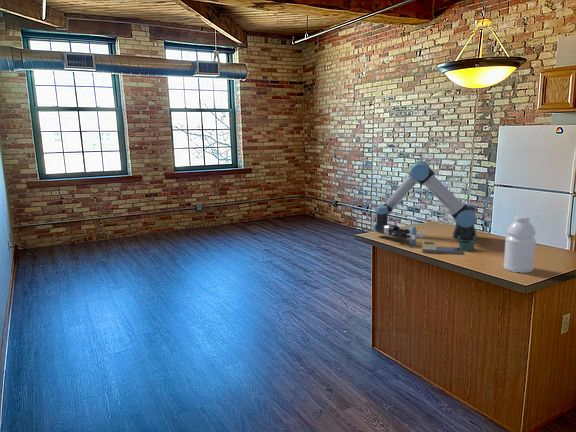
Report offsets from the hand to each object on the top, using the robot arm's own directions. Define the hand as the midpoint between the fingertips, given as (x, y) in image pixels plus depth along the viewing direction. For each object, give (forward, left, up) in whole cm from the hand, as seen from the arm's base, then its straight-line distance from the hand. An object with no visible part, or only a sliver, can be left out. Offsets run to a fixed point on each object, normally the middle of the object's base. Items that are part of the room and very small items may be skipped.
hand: (418, 236), depth 269 cm
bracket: (-28, +2, -7) cm, 29 cm away
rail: (-13, +10, -6) cm, 18 cm away
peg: (+4, -3, -6) cm, 8 cm away
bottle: (-50, +37, -7) cm, 63 cm away
